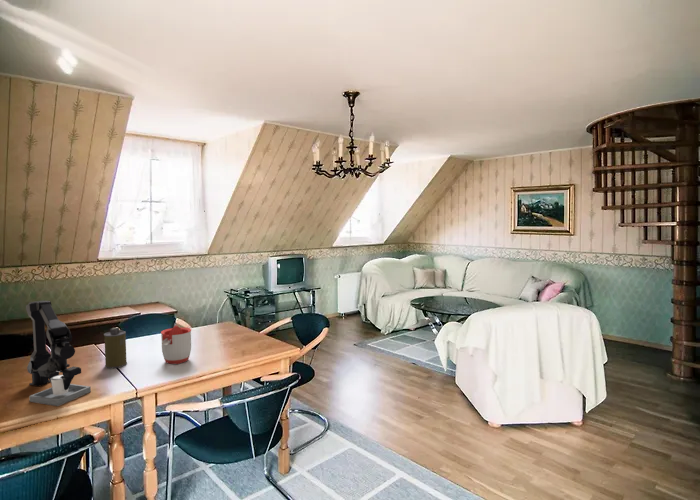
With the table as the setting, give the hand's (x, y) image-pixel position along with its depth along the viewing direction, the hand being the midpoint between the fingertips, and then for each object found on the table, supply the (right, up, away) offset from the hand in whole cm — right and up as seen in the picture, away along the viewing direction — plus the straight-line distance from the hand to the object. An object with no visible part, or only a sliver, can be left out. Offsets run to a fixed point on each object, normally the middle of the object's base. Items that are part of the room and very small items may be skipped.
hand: (60, 389), depth 193 cm
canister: (+2, -1, +42) cm, 43 cm away
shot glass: (0, -2, 0) cm, 2 cm away
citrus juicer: (+32, 0, +48) cm, 57 cm away
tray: (0, -3, 0) cm, 3 cm away
